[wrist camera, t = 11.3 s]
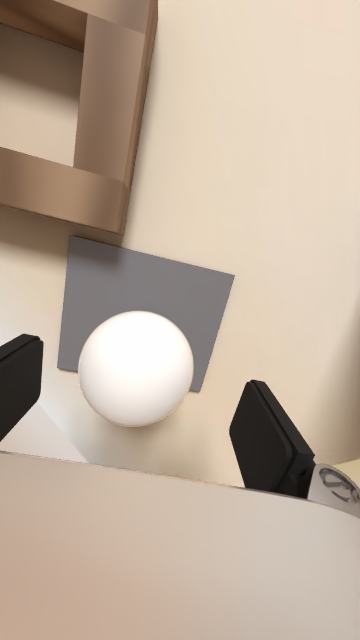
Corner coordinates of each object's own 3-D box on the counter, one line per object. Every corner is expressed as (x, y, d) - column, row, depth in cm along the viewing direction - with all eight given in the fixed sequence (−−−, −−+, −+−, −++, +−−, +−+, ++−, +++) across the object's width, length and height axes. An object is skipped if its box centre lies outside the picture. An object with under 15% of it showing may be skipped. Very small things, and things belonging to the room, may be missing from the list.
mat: (233, 275, 20) (234, 275, 20) (199, 389, 23) (200, 391, 23) (71, 235, 18) (69, 235, 18) (58, 365, 21) (57, 367, 21)
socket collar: (158, 15, 15) (156, -43, 12) (123, 235, 18) (115, 232, 16) (-81, -78, 13) (-151, -173, 10) (-66, 187, 17) (-114, 174, 14)
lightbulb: (169, 363, 22) (175, 467, 11) (104, 344, 21) (43, 441, 10) (192, 302, 20) (223, 358, 10) (122, 279, 19) (72, 313, 9)
